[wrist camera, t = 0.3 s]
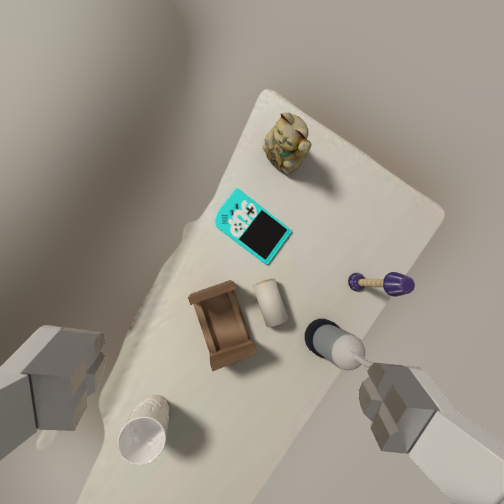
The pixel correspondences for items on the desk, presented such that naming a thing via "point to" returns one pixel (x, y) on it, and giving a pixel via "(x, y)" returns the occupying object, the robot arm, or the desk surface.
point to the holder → (222, 324)
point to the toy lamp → (384, 283)
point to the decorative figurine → (287, 143)
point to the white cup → (144, 431)
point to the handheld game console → (251, 226)
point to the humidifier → (335, 345)
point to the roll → (270, 303)
